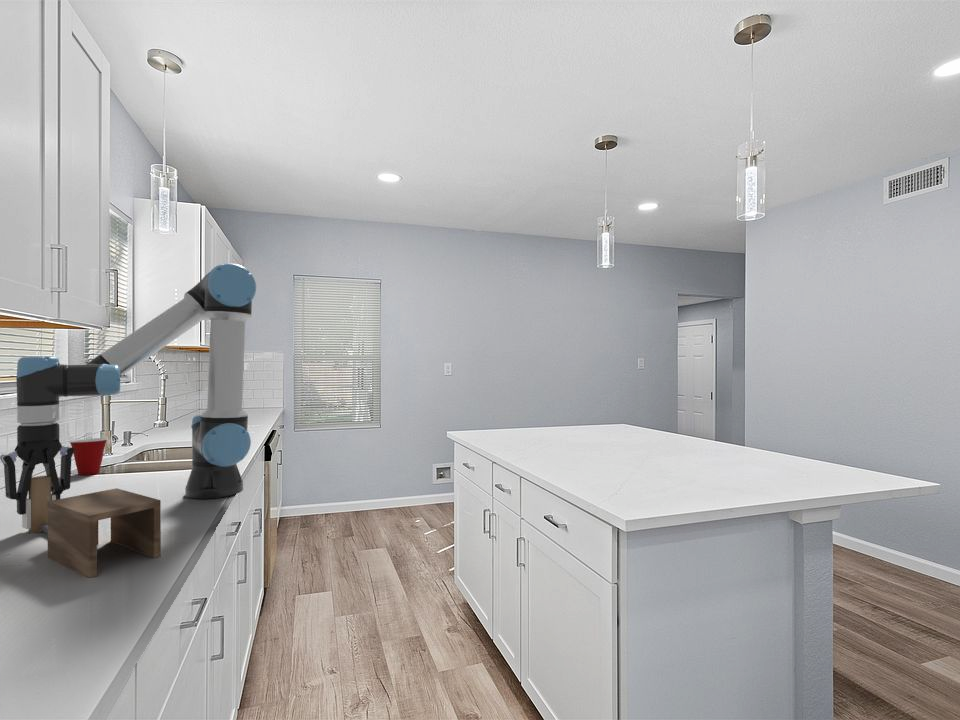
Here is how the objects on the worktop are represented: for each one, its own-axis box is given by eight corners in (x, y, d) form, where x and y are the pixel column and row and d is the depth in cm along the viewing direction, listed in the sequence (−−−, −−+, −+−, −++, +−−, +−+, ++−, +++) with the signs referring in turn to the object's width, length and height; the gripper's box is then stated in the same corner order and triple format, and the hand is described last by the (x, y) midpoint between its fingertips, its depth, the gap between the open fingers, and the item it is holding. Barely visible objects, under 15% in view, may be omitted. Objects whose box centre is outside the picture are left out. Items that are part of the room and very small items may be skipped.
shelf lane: (116, 539, 117) (116, 488, 117) (160, 556, 107) (160, 500, 107) (47, 557, 106) (47, 501, 106) (89, 577, 97) (89, 515, 97)
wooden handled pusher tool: (52, 524, 127) (52, 474, 127) (98, 544, 114) (98, 487, 114) (20, 531, 122) (20, 479, 122) (64, 552, 109) (64, 493, 109)
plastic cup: (109, 469, 189) (109, 435, 189) (106, 474, 180) (106, 439, 180) (71, 472, 184) (71, 437, 184) (66, 478, 175) (66, 441, 175)
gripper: (74, 418, 133) (75, 513, 133) (-16, 426, 118) (-16, 532, 118) (88, 420, 129) (89, 517, 129) (-3, 428, 114) (-3, 538, 114)
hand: (39, 524), depth 124 cm, fingers closed on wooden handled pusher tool, 4 cm apart
